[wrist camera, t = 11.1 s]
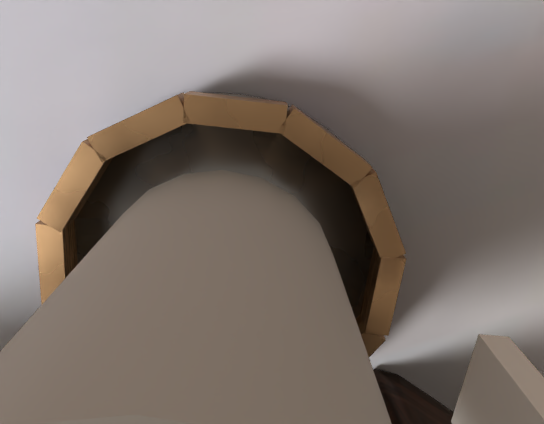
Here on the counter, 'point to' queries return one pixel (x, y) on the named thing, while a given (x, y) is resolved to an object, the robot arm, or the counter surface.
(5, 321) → the counter surface
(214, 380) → the can
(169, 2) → the counter surface
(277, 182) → the coaster
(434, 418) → the dark brown coffee grinder
